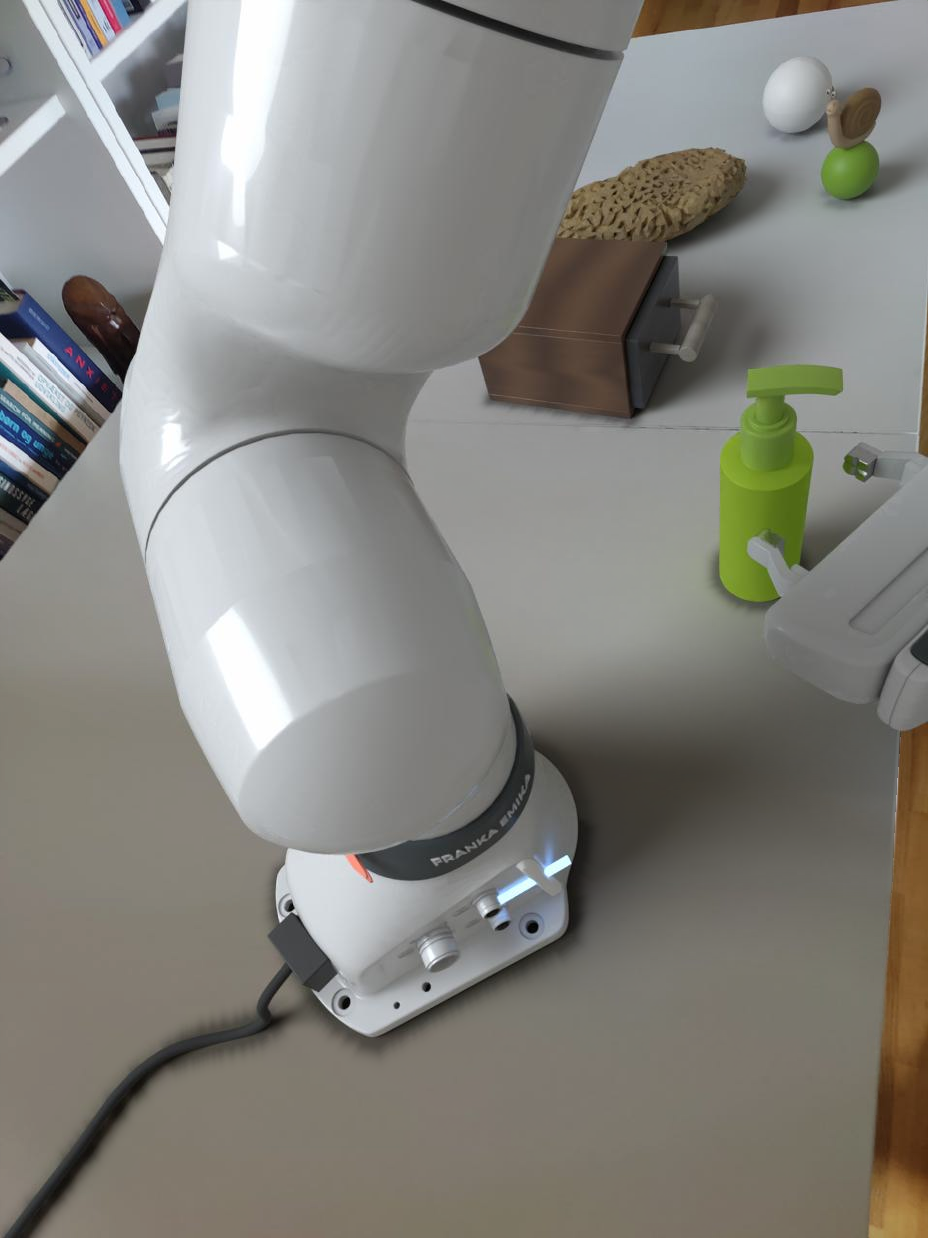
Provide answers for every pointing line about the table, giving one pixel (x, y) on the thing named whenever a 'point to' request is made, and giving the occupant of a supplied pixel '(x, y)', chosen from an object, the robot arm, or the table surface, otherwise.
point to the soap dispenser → (767, 475)
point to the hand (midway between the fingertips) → (803, 496)
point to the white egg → (797, 94)
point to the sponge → (655, 197)
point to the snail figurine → (851, 144)
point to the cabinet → (576, 329)
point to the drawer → (663, 330)
